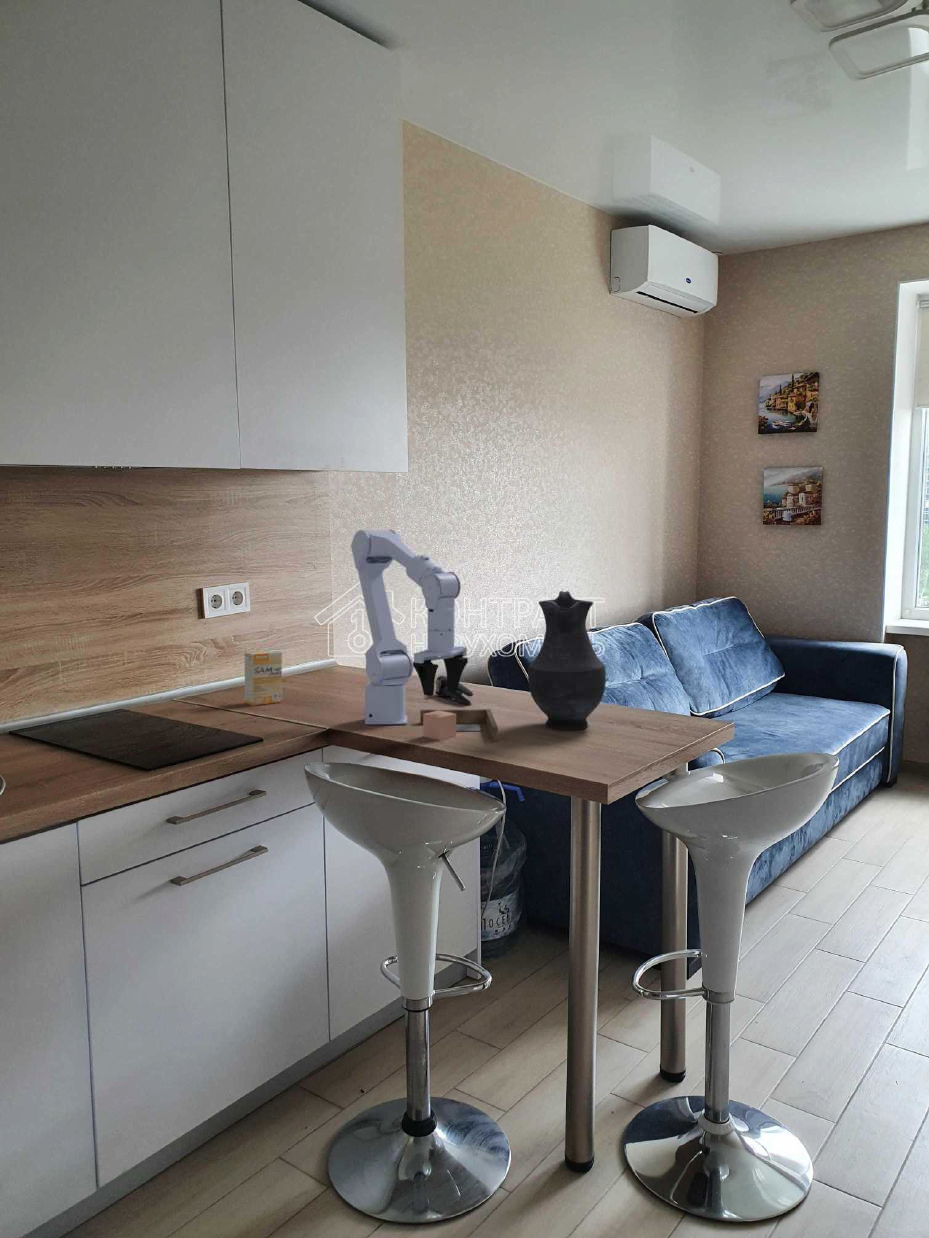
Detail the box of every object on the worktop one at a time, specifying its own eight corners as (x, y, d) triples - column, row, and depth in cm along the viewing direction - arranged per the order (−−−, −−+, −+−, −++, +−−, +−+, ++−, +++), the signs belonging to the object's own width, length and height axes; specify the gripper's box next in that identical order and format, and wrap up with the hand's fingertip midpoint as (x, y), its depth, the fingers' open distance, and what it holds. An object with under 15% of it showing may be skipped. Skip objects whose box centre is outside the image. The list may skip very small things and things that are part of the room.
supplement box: (253, 706, 228) (252, 653, 227) (244, 703, 232) (243, 651, 231) (283, 702, 233) (282, 651, 232) (274, 699, 237) (273, 648, 236)
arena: (421, 741, 193) (421, 727, 193) (420, 722, 212) (420, 709, 211) (497, 741, 194) (497, 727, 194) (490, 722, 213) (490, 709, 212)
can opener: (429, 695, 246) (429, 674, 245) (453, 693, 249) (453, 672, 248) (456, 707, 230) (456, 685, 229) (481, 705, 233) (482, 683, 232)
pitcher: (528, 734, 201) (530, 596, 198) (526, 713, 222) (528, 589, 219) (608, 735, 200) (612, 597, 197) (598, 715, 221) (601, 589, 218)
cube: (440, 740, 195) (440, 717, 194) (423, 736, 198) (423, 713, 198) (456, 736, 199) (456, 713, 198) (439, 733, 202) (439, 710, 201)
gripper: (431, 634, 188) (431, 700, 190) (477, 628, 199) (477, 690, 200) (406, 631, 193) (406, 695, 194) (453, 625, 204) (452, 686, 205)
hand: (440, 692), depth 198 cm, fingers open, 7 cm apart
